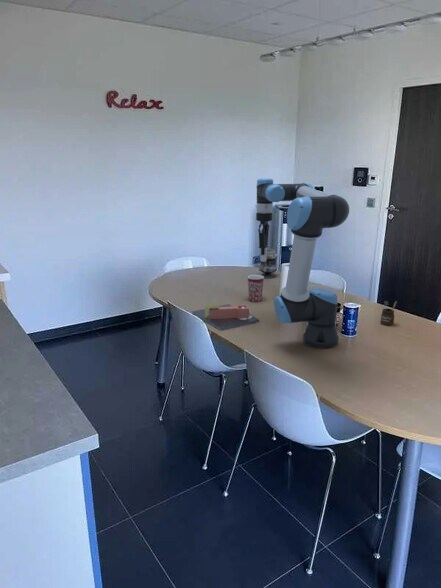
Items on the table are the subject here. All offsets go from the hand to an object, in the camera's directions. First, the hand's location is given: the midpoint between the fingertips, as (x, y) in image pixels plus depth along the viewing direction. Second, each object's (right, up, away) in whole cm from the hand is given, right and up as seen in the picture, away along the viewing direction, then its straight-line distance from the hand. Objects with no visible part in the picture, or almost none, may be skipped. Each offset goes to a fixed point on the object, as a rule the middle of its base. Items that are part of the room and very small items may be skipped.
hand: (263, 261), depth 222 cm
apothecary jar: (+11, -5, +82) cm, 83 cm away
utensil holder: (+59, -31, -3) cm, 67 cm away
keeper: (-25, -29, +3) cm, 38 cm away
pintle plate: (-19, -28, +6) cm, 34 cm away
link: (-17, -28, +3) cm, 32 cm away
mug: (0, -19, +35) cm, 40 cm away
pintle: (-9, -27, +5) cm, 29 cm away
